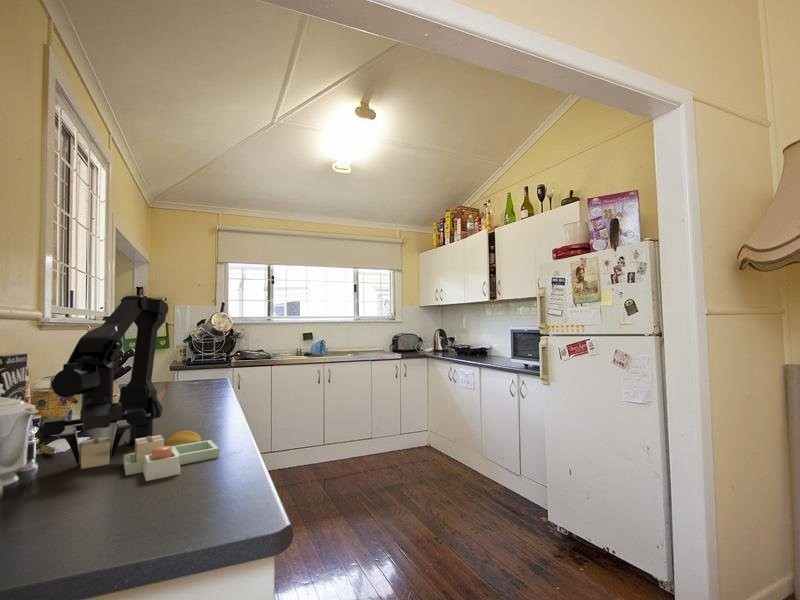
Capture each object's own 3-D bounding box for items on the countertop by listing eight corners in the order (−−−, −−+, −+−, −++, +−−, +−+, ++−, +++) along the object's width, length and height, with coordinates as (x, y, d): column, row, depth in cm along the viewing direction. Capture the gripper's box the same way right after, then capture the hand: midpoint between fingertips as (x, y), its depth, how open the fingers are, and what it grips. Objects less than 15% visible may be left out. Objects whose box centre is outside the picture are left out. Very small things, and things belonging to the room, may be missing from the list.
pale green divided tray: (123, 466, 91) (123, 454, 91) (210, 450, 101) (210, 439, 102) (125, 477, 83) (126, 465, 84) (219, 459, 94) (219, 448, 94)
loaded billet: (134, 464, 90) (135, 438, 91) (160, 459, 93) (161, 434, 94) (136, 470, 86) (137, 442, 87) (163, 465, 89) (164, 438, 90)
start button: (150, 458, 85) (151, 448, 85) (170, 454, 87) (170, 445, 87) (152, 462, 82) (153, 452, 82) (173, 458, 84) (173, 448, 84)
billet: (81, 465, 92) (82, 439, 92) (108, 460, 95) (109, 436, 95) (80, 471, 88) (81, 444, 88) (109, 466, 91) (110, 440, 91)
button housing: (143, 474, 85) (143, 455, 85) (175, 468, 88) (175, 449, 89) (146, 483, 80) (146, 462, 80) (180, 476, 84) (180, 456, 84)
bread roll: (159, 455, 99) (160, 438, 99) (170, 444, 108) (170, 429, 108) (197, 451, 101) (197, 435, 101) (204, 442, 110) (204, 427, 110)
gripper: (39, 399, 80) (35, 480, 79) (149, 389, 91) (147, 460, 90) (44, 392, 89) (41, 465, 88) (144, 384, 100) (143, 448, 99)
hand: (95, 460), depth 91 cm, fingers open, 6 cm apart
